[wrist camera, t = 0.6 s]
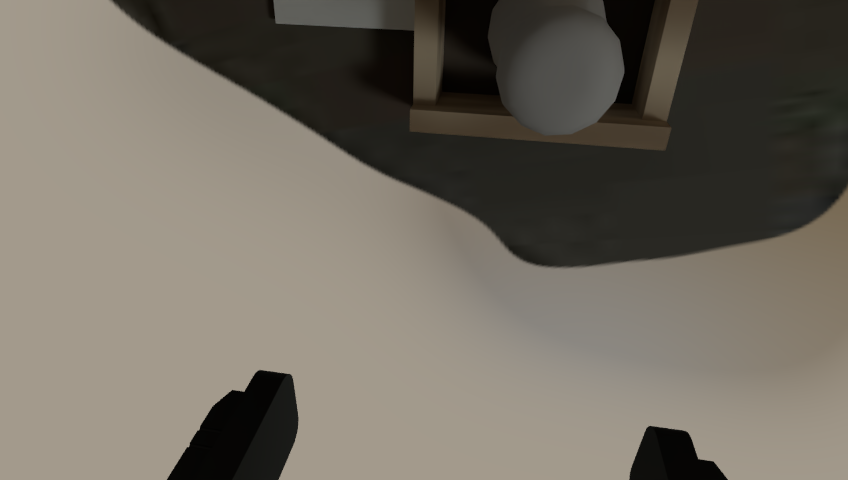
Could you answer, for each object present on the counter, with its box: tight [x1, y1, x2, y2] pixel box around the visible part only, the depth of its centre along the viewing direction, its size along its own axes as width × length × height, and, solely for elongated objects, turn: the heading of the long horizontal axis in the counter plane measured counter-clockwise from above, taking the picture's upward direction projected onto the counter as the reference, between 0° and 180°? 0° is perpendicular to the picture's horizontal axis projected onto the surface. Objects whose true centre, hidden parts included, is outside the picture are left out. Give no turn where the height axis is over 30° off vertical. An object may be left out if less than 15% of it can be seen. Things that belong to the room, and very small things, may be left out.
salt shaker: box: [488, 0, 624, 136], centre depth 23 cm, size 6×6×13 cm
